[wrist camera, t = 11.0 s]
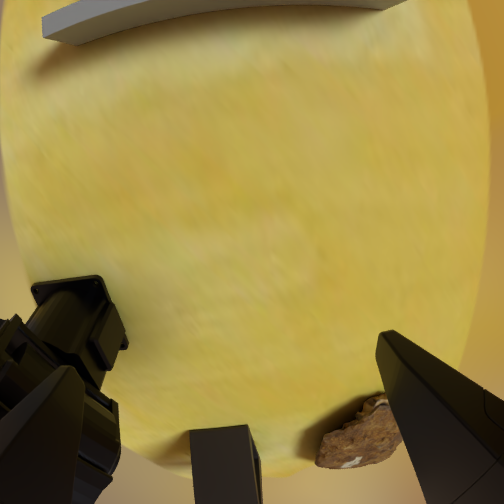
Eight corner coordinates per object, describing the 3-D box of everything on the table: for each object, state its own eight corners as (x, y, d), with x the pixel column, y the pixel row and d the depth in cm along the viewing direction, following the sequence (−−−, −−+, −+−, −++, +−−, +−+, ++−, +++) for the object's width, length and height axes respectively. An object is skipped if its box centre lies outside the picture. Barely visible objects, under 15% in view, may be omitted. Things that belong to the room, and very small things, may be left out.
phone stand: (260, 459, 33) (269, 547, 22) (211, 464, 33) (212, 550, 22) (248, 423, 29) (257, 533, 18) (189, 428, 29) (184, 535, 18)
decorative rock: (313, 394, 28) (311, 456, 36) (319, 430, 25) (314, 482, 32) (422, 373, 28) (393, 439, 35) (436, 403, 24) (401, 464, 32)
